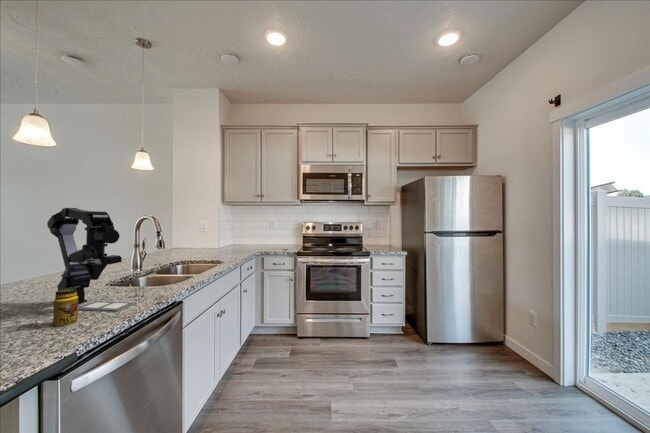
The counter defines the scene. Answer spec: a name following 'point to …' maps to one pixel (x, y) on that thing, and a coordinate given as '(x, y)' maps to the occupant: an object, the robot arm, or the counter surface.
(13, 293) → the counter surface
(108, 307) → the mat
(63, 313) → the condiment
